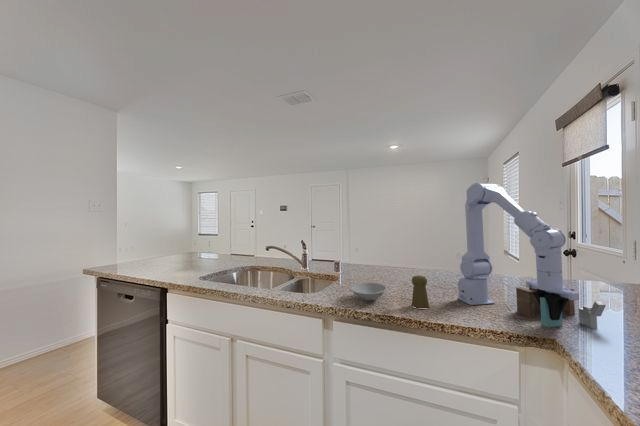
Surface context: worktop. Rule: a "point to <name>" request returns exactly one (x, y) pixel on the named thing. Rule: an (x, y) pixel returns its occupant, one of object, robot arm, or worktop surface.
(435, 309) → the worktop surface
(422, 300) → the olive upright piece
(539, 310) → the walnut domino
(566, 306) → the walnut domino
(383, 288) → the dish
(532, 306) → the walnut domino
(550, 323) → the teal domino
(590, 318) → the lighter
